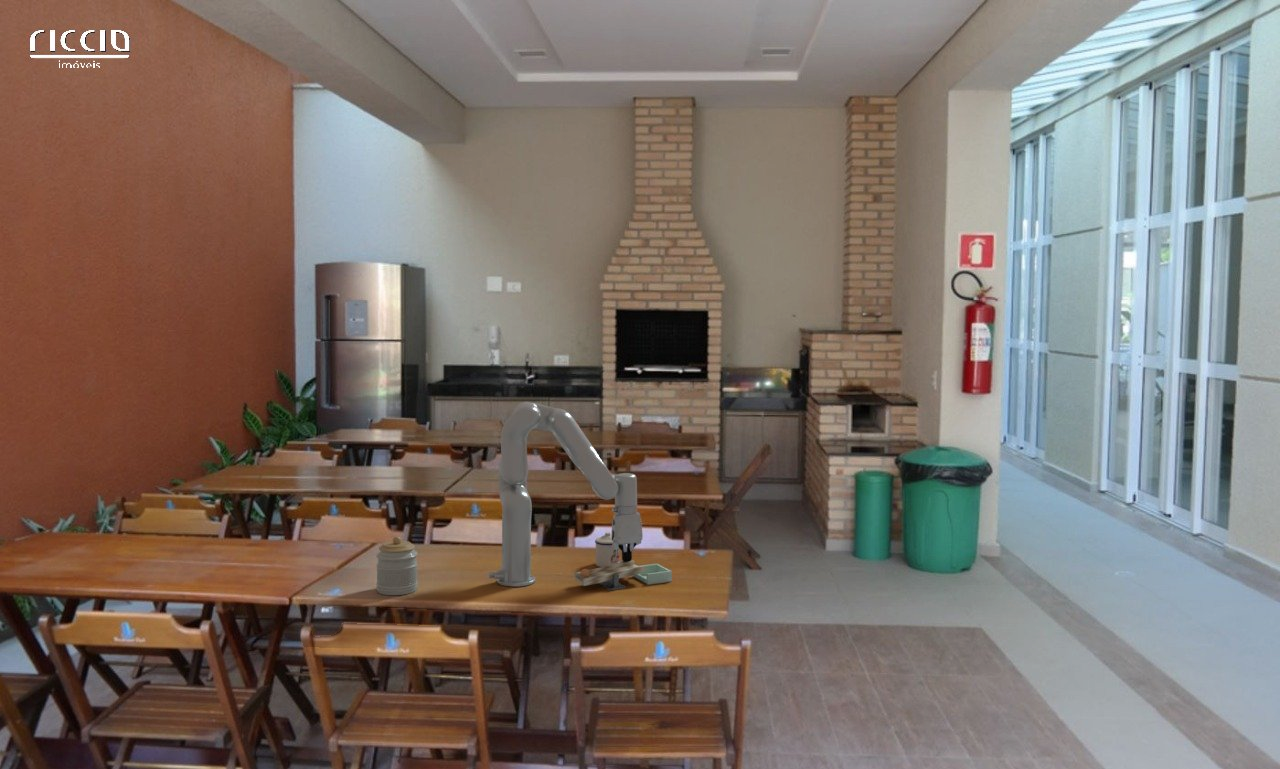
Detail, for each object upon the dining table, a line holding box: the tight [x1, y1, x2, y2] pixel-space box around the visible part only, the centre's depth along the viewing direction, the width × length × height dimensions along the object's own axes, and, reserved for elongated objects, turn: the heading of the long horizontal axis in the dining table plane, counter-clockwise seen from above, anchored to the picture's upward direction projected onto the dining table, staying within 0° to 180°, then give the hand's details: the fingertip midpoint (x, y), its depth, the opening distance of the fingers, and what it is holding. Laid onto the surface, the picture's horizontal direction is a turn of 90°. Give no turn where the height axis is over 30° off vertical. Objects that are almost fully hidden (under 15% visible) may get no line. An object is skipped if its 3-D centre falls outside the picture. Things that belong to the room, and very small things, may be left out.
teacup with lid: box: [594, 532, 621, 568], centre depth 339 cm, size 12×9×12 cm
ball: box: [579, 568, 590, 578], centre depth 309 cm, size 3×3×3 cm
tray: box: [632, 563, 673, 586], centre depth 320 cm, size 9×11×4 cm
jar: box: [375, 535, 419, 596], centre depth 304 cm, size 13×13×18 cm
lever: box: [573, 559, 645, 587], centre depth 315 cm, size 22×13×3 cm, turn 117°
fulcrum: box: [597, 574, 627, 591], centre depth 313 cm, size 6×12×5 cm, turn 27°
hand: (626, 562), depth 324 cm, fingers closed
